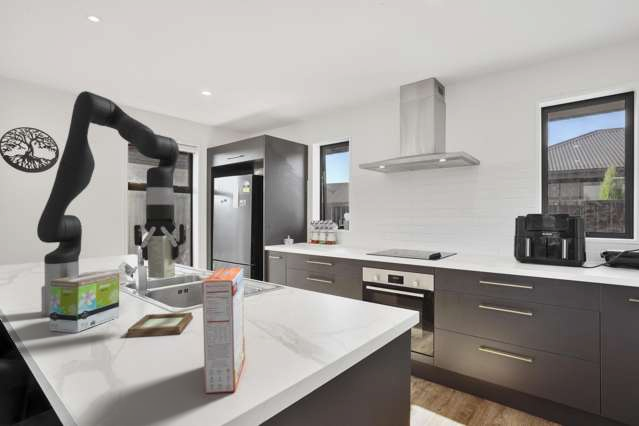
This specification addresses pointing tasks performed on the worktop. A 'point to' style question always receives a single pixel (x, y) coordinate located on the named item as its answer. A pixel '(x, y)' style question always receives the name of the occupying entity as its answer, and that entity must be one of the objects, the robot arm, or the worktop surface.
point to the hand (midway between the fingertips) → (160, 259)
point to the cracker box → (223, 329)
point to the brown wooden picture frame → (160, 324)
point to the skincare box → (160, 257)
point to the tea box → (83, 301)
